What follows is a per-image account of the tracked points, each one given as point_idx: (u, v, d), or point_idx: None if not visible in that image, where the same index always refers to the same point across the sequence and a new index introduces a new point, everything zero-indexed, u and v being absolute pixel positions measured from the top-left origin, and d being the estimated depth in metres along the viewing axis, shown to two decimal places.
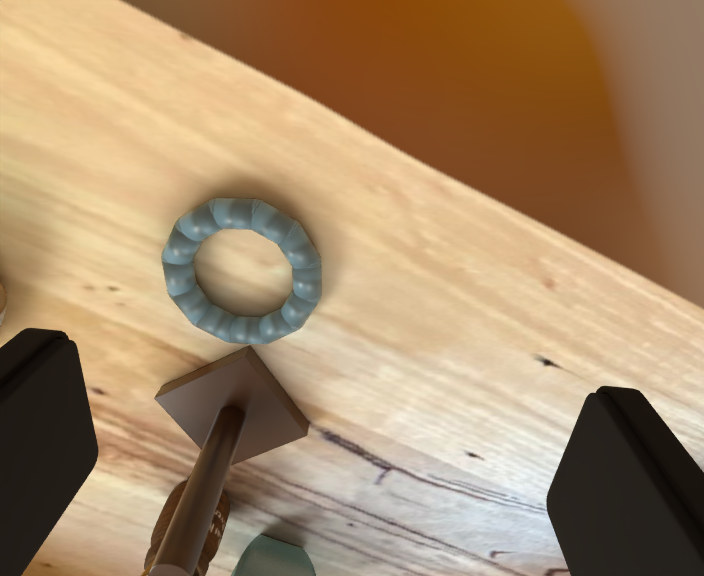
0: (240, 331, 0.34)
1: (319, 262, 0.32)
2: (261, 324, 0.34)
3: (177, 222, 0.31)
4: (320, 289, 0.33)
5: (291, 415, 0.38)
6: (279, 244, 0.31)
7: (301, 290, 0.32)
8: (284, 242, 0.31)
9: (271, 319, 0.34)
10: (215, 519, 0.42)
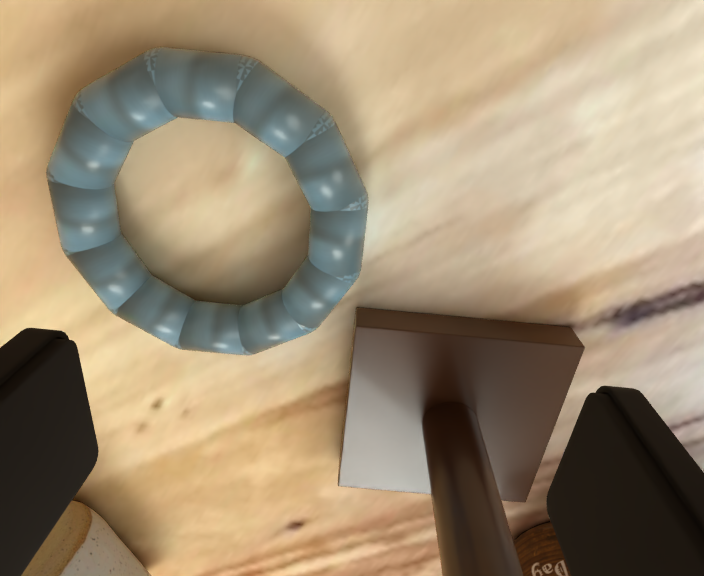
0: (300, 298, 0.17)
1: (252, 61, 0.14)
2: (312, 258, 0.17)
3: None
4: (311, 103, 0.15)
5: (523, 341, 0.18)
6: (169, 109, 0.15)
7: (281, 135, 0.15)
8: (163, 93, 0.14)
9: (313, 235, 0.16)
10: None
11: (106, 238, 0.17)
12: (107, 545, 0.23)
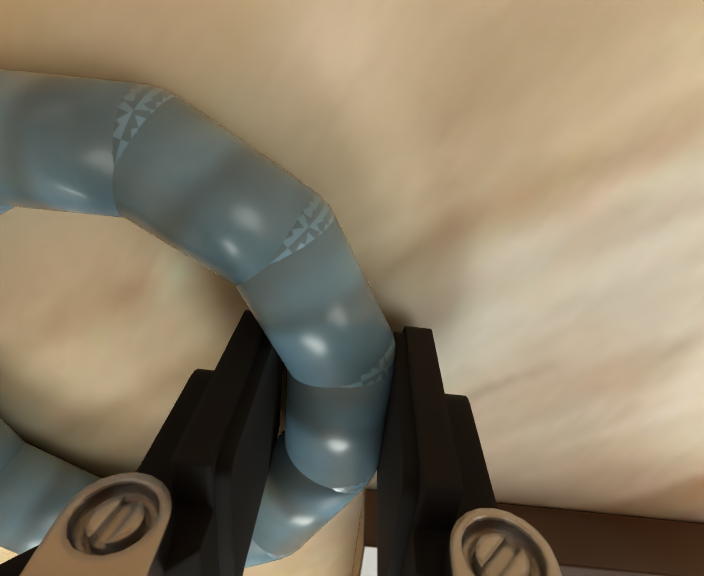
0: (270, 515, 0.10)
1: (153, 97, 0.07)
2: (291, 450, 0.09)
3: None
4: (283, 182, 0.07)
5: (656, 573, 0.10)
6: None
7: (218, 252, 0.07)
8: None
9: (293, 415, 0.09)
10: None
11: None
12: None
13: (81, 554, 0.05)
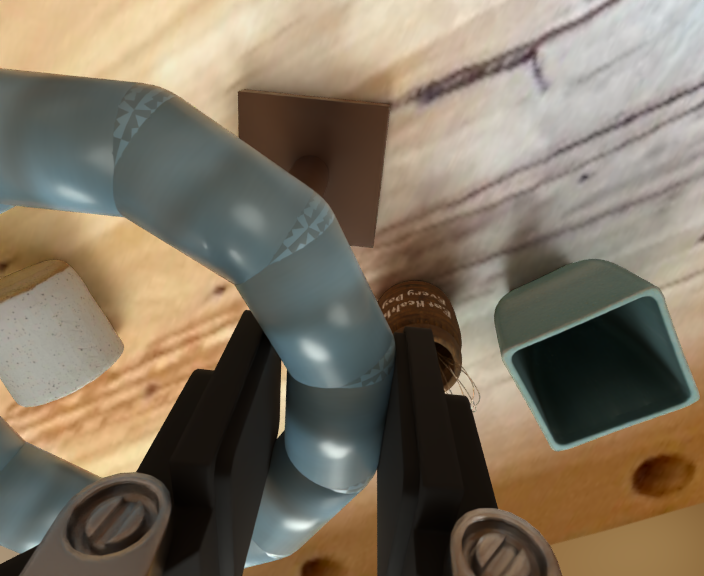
0: (270, 515, 0.10)
1: (154, 97, 0.07)
2: (290, 450, 0.09)
3: None
4: (284, 182, 0.07)
5: (349, 103, 0.28)
6: None
7: (218, 252, 0.07)
8: None
9: (292, 415, 0.09)
10: (422, 297, 0.32)
11: None
12: (79, 283, 0.33)
13: (81, 554, 0.05)
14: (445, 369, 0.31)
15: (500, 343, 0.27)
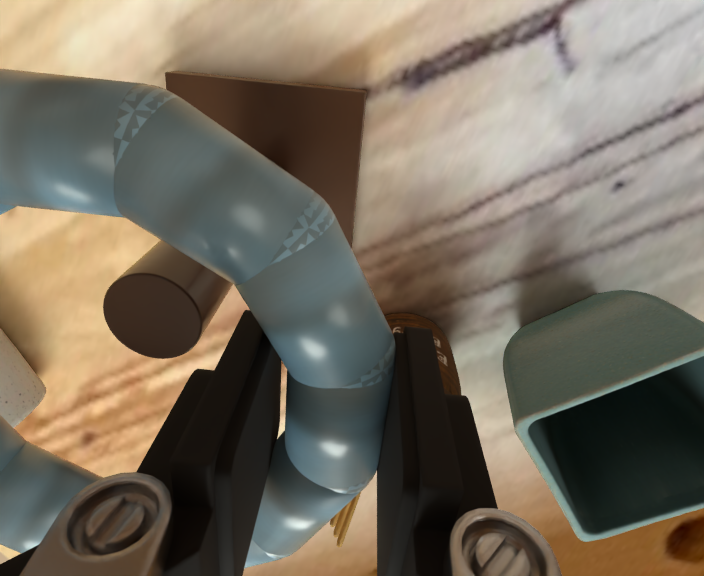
0: (270, 515, 0.10)
1: (154, 98, 0.07)
2: (291, 451, 0.09)
3: None
4: (284, 182, 0.07)
5: (312, 87, 0.21)
6: None
7: (218, 253, 0.07)
8: None
9: (292, 415, 0.09)
10: None
11: None
12: None
13: (81, 555, 0.05)
14: None
15: (512, 407, 0.21)
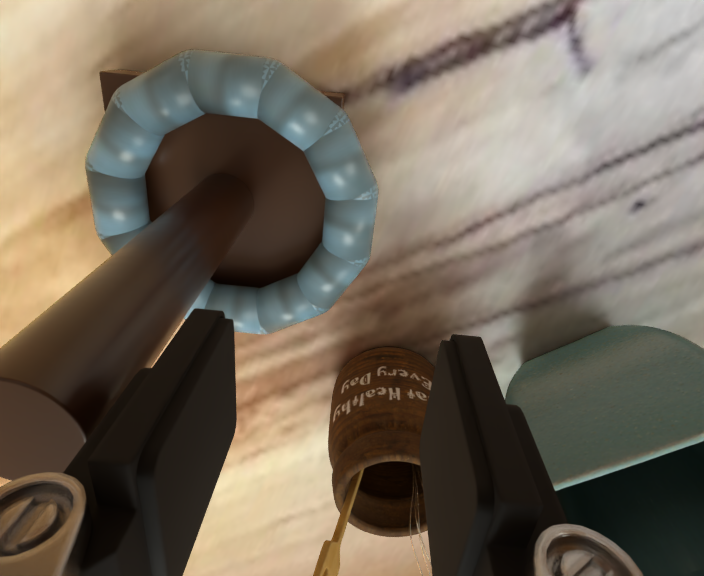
0: (314, 281, 0.19)
1: (275, 63, 0.16)
2: (326, 243, 0.18)
3: (97, 232, 0.19)
4: (328, 101, 0.16)
5: None
6: (199, 105, 0.16)
7: (301, 130, 0.16)
8: (195, 91, 0.16)
9: (328, 222, 0.18)
10: (398, 380, 0.21)
11: (137, 224, 0.18)
12: None
13: None
14: None
15: None
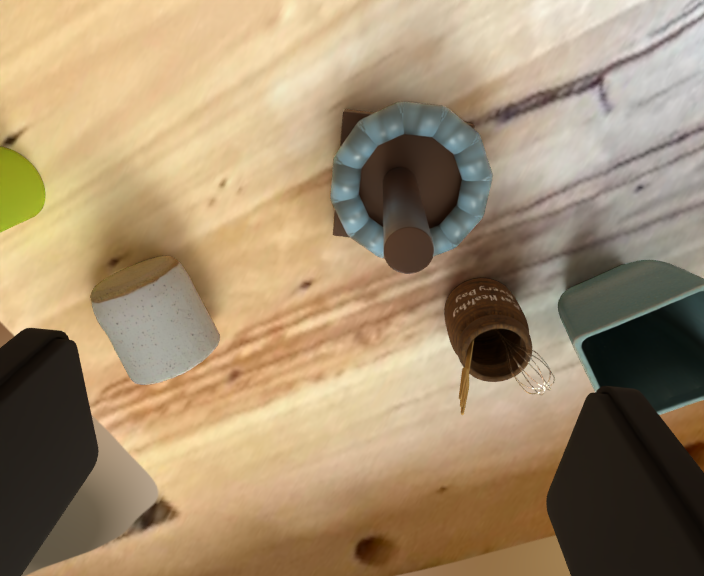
0: (452, 228, 0.33)
1: (446, 108, 0.30)
2: (461, 206, 0.33)
3: (331, 199, 0.33)
4: (471, 128, 0.31)
5: None
6: (404, 130, 0.31)
7: (457, 143, 0.31)
8: (405, 123, 0.30)
9: (463, 193, 0.32)
10: (493, 292, 0.36)
11: (356, 194, 0.33)
12: (188, 277, 0.37)
13: None
14: (514, 356, 0.35)
15: (570, 332, 0.31)
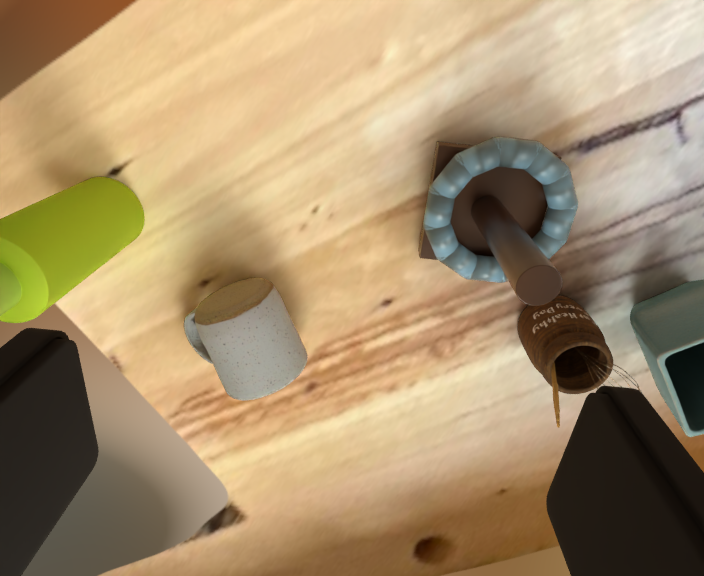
0: None
1: (540, 143, 0.33)
2: (547, 231, 0.35)
3: (425, 226, 0.36)
4: (561, 161, 0.33)
5: None
6: (500, 163, 0.33)
7: (549, 175, 0.33)
8: (502, 157, 0.33)
9: (550, 220, 0.35)
10: (571, 310, 0.38)
11: (449, 221, 0.35)
12: (281, 298, 0.39)
13: None
14: (592, 369, 0.38)
15: (652, 348, 0.34)
